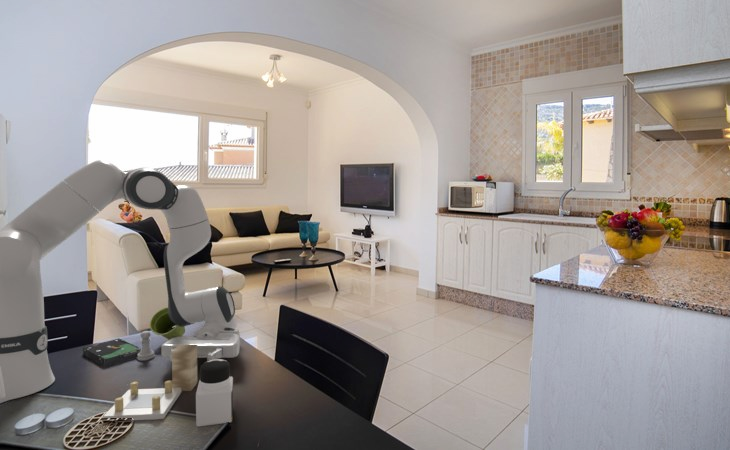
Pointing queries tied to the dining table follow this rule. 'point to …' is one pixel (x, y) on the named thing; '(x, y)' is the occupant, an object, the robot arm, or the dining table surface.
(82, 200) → the robot arm
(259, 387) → the dining table surface
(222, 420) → the medicine bottle
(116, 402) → the white pegged board
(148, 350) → the chess piece
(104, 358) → the disk drive
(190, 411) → the dining table surface
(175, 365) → the maple block
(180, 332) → the plant pot
